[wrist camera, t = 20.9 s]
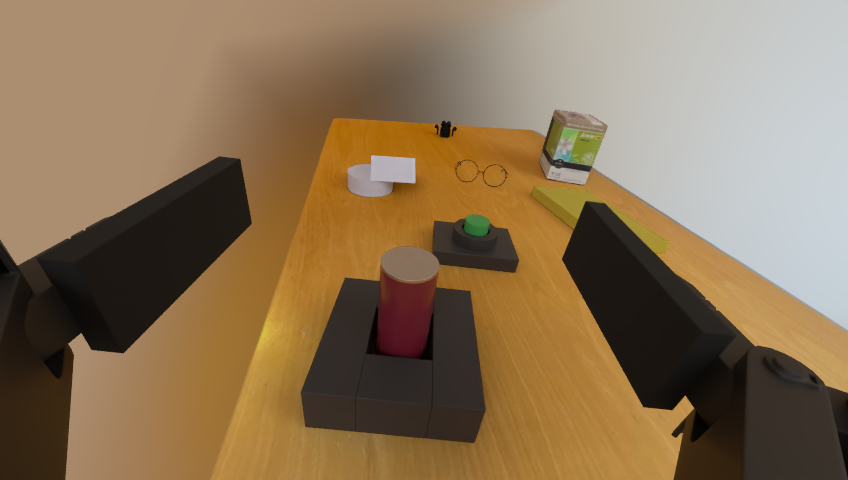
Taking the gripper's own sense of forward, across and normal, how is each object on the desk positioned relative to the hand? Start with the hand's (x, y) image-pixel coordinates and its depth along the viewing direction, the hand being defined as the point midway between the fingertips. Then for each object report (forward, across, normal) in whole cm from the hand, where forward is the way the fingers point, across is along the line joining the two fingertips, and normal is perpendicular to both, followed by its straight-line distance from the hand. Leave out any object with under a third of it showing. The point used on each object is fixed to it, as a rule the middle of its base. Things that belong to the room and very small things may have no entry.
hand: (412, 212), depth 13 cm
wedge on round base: (+52, -8, -22) cm, 57 cm away
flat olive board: (+48, +34, -22) cm, 62 cm away
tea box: (+76, +37, -22) cm, 87 cm away
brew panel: (+32, +9, -22) cm, 39 cm away
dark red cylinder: (+10, 0, -22) cm, 24 cm away
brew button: (+32, +9, -18) cm, 37 cm away
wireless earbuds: (+100, +6, -22) cm, 102 cm away
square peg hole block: (+10, 0, -22) cm, 24 cm away
